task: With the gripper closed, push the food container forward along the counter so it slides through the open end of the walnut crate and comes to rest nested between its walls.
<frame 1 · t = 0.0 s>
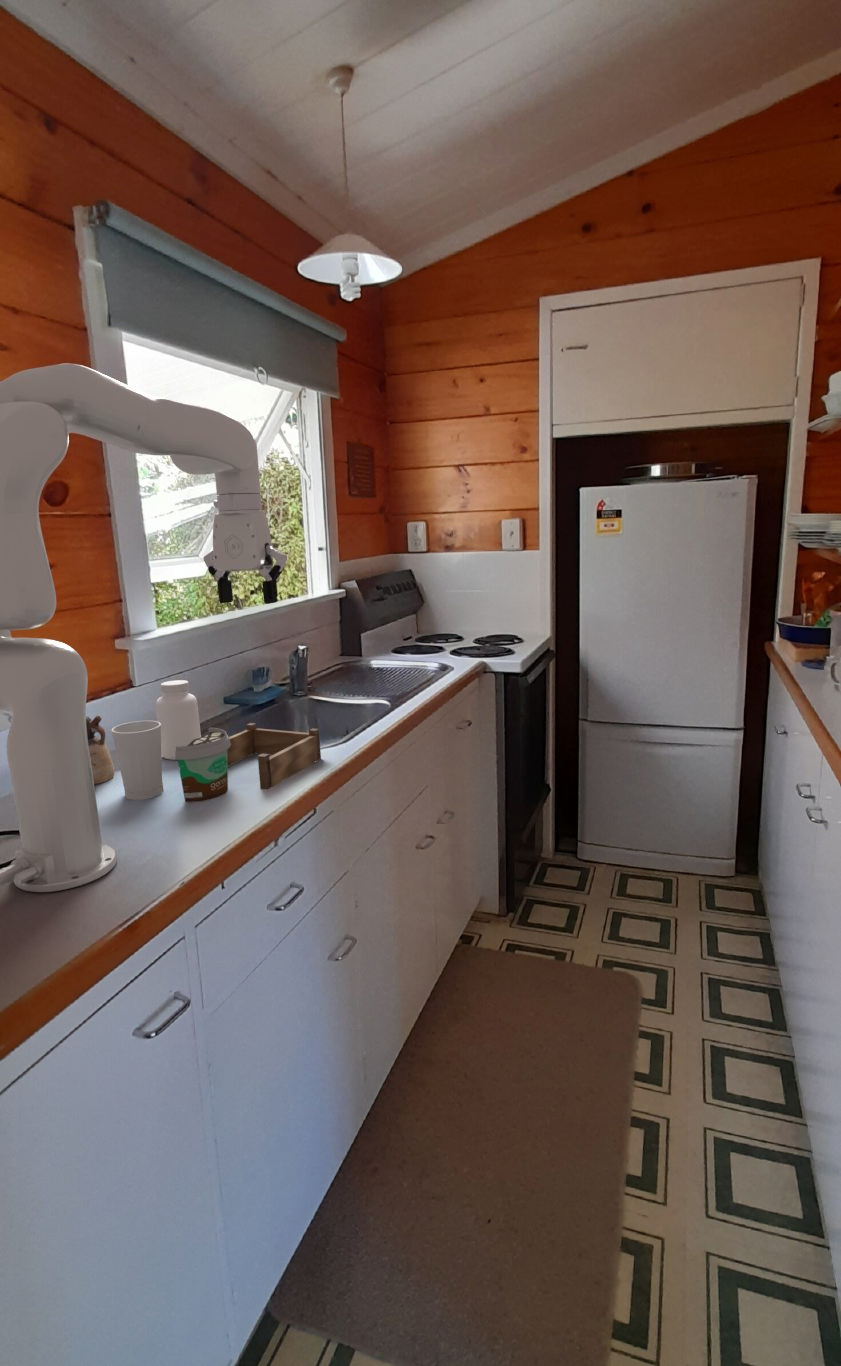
hand: (248, 602, 133), 31 cm above the table, tool pointing down, fingers open, 9 cm apart
cup: (144, 794, 128), on the table
figurine: (94, 779, 137), on the table
crate: (259, 769, 139), on the table
food container: (215, 793, 127), on the table
pill bottle: (182, 755, 150), on the table
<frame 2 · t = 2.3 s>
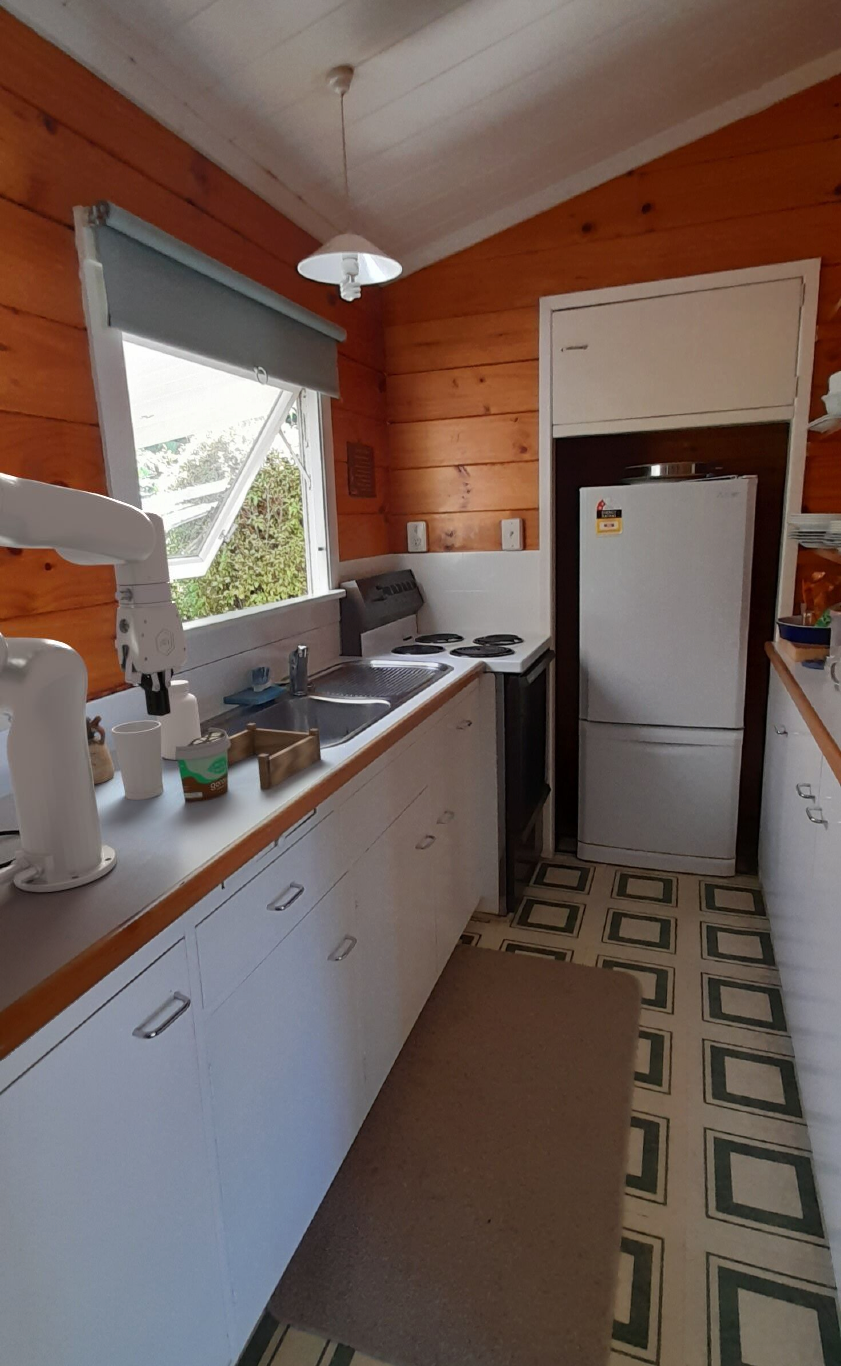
hand: (159, 714, 114), 17 cm above the table, tool pointing down, fingers closed
nothing on the table moved.
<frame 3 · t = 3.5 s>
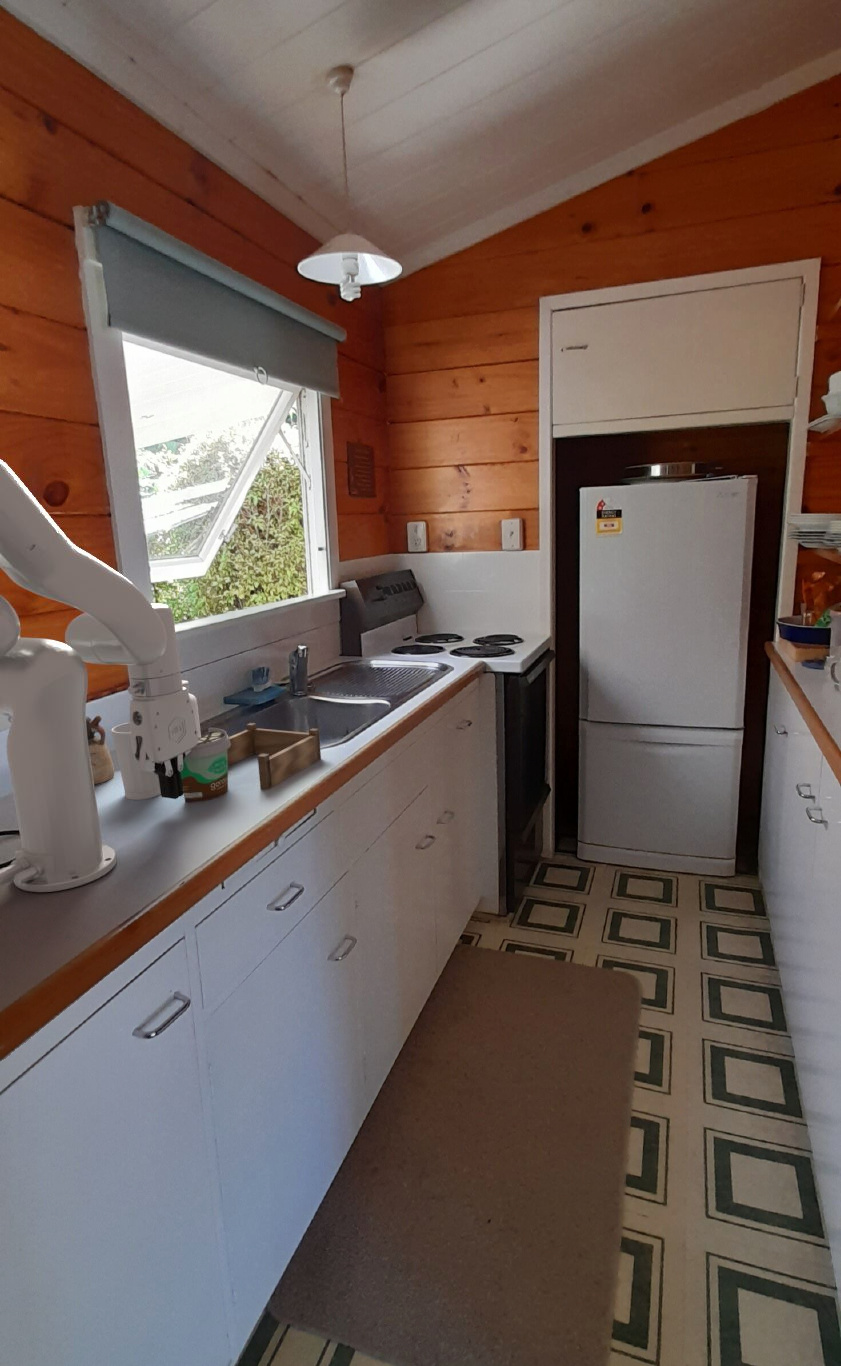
hand: (172, 796, 118), 3 cm above the table, tool pointing down, fingers closed
nothing on the table moved.
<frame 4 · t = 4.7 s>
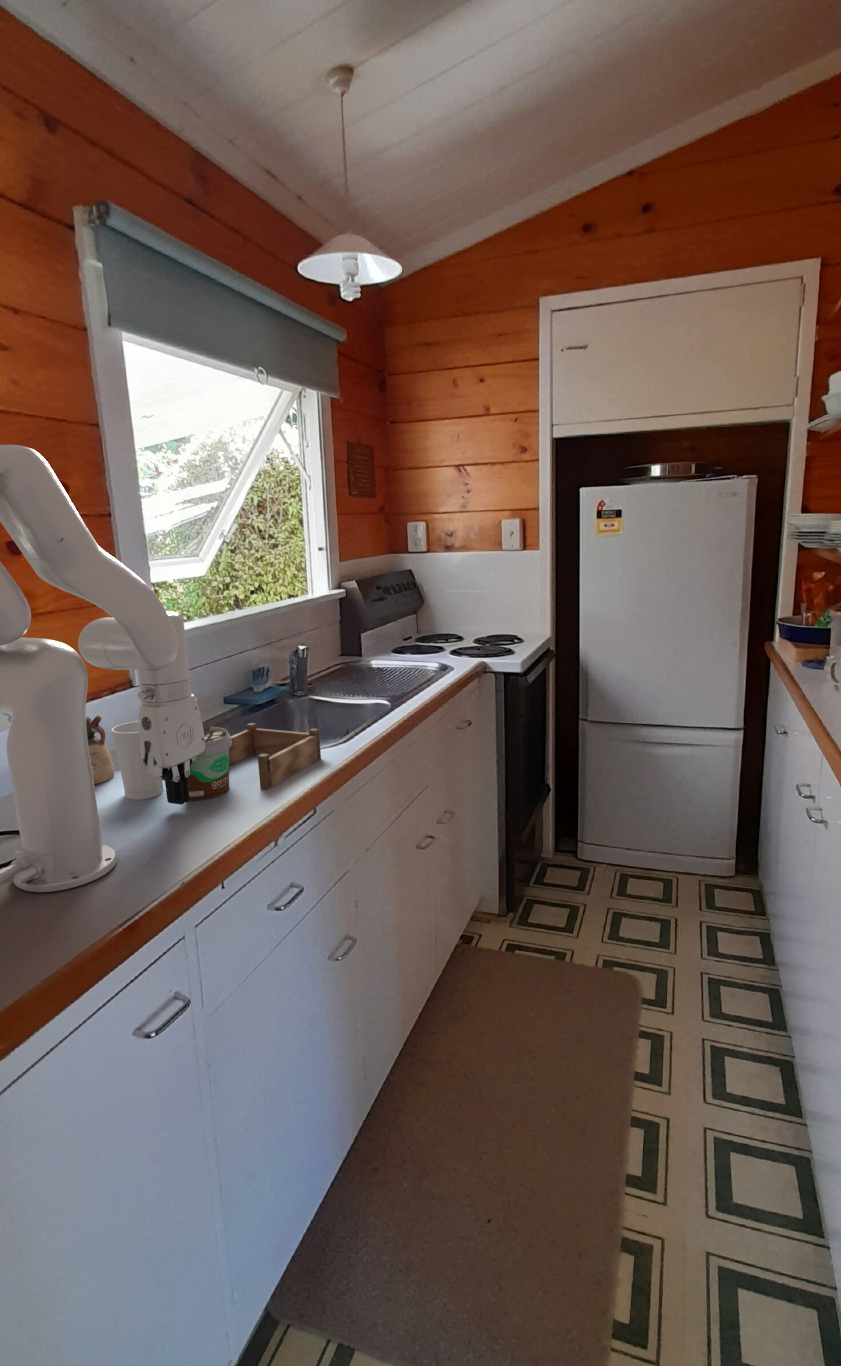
hand: (178, 801, 119), 2 cm above the table, tool pointing down, fingers closed
food container: (216, 792, 128), on the table, touching gripper
everything else where it was.
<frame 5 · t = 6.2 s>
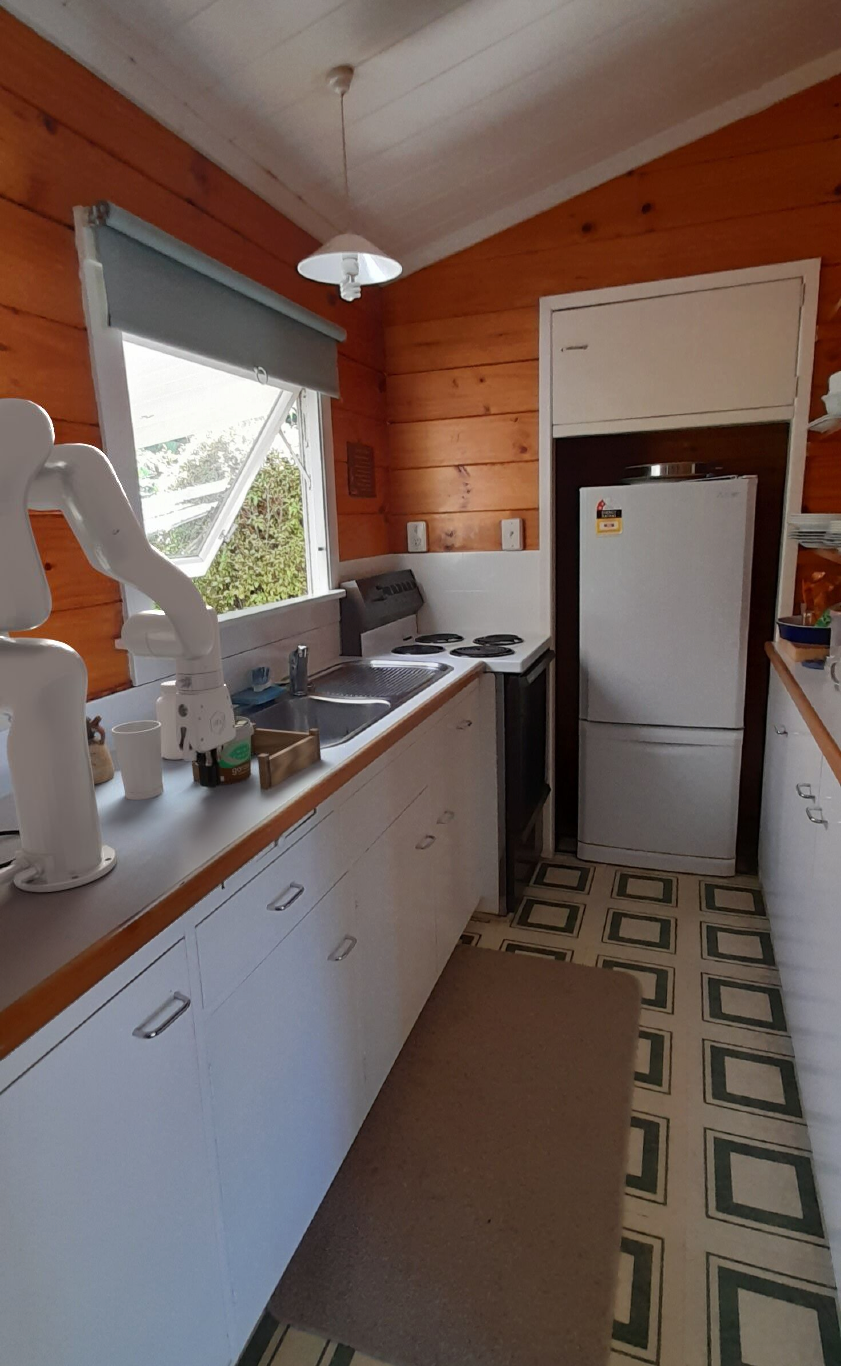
hand: (210, 785, 126), 2 cm above the table, tool pointing down, fingers closed
food container: (238, 778, 135), on the table, touching gripper
everything else where it was.
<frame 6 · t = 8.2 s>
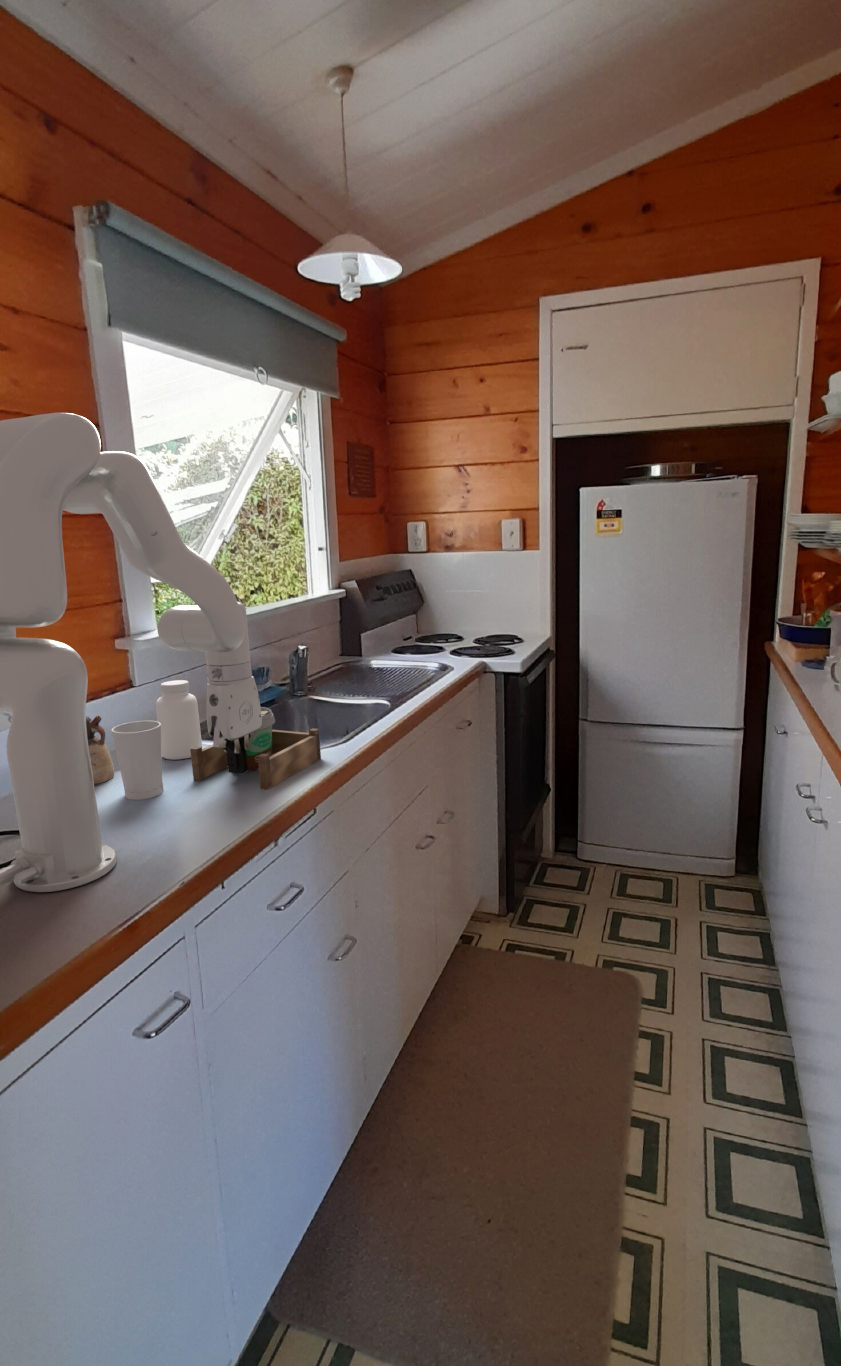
hand: (238, 771, 133), 2 cm above the table, tool pointing down, fingers closed
food container: (260, 765, 141), on the table, touching gripper
everything else where it was.
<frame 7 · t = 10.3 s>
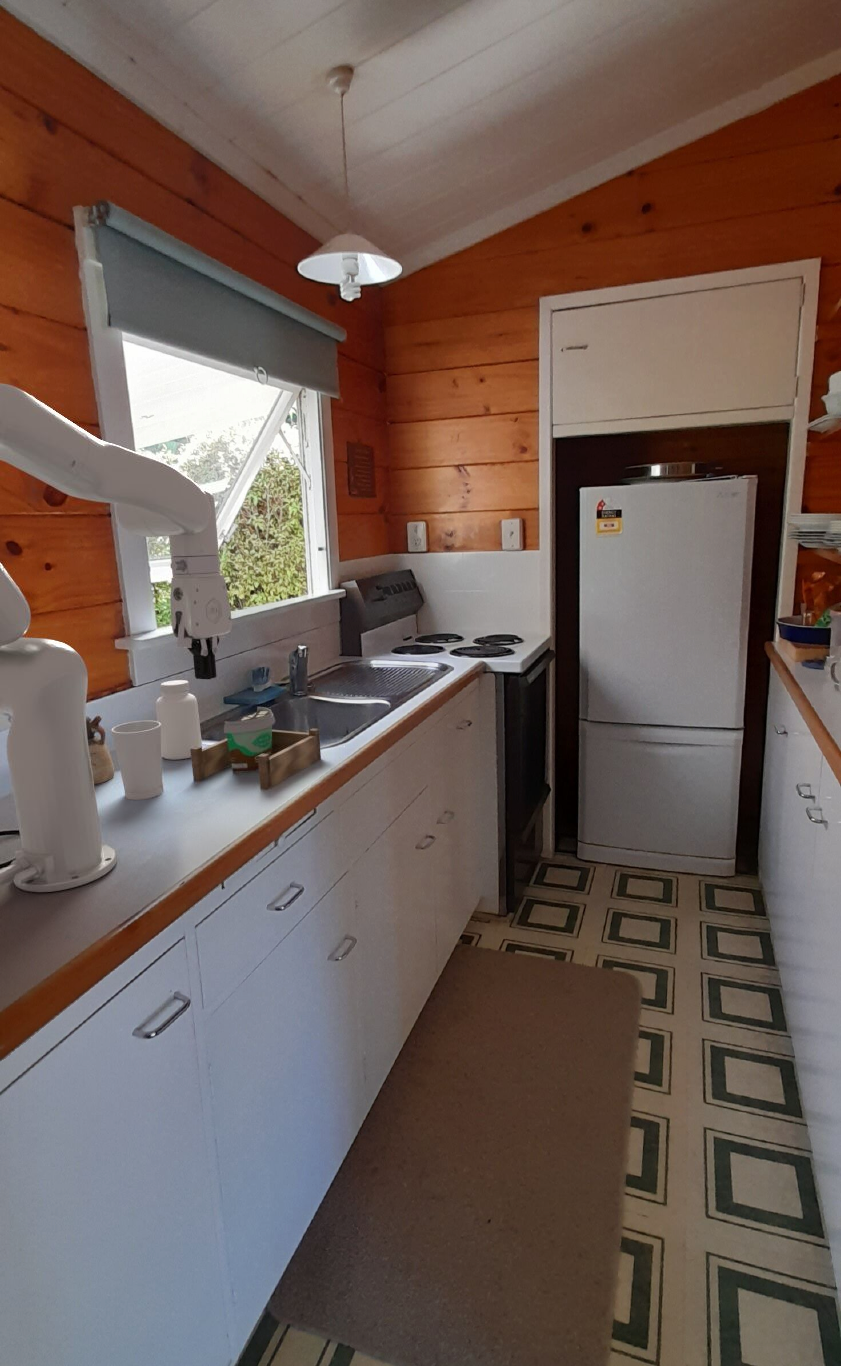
hand: (205, 677, 124), 20 cm above the table, tool pointing down, fingers closed
food container: (260, 766, 141), on the table
everything else where it was.
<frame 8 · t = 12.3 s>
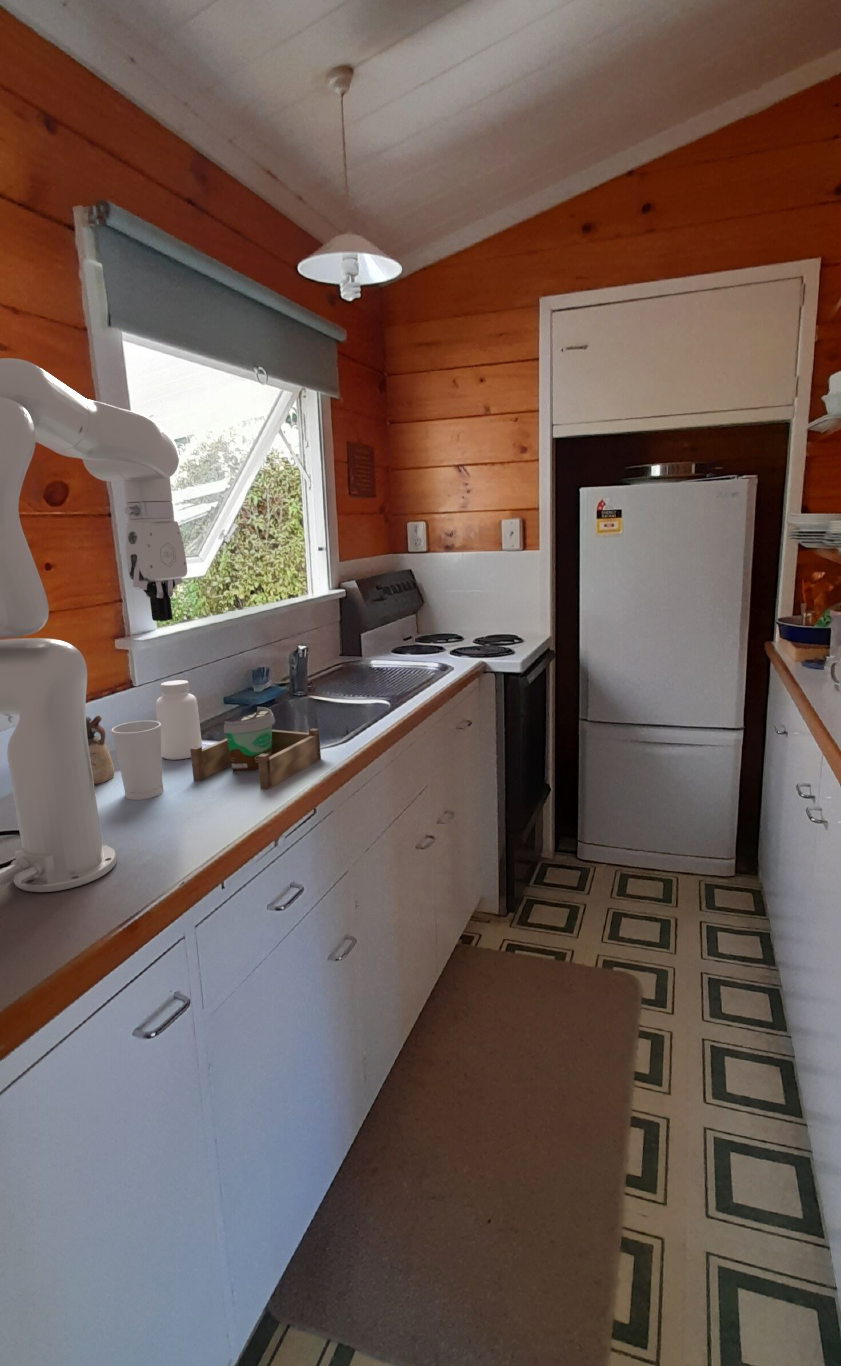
hand: (162, 619, 130), 29 cm above the table, tool pointing down, fingers closed
nothing on the table moved.
at the end: food container inside the target area on the crate (2.3 cm from its centre), point 0.0 cm above the crate's base; food container tilted 0°; the gripper is holding nothing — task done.
